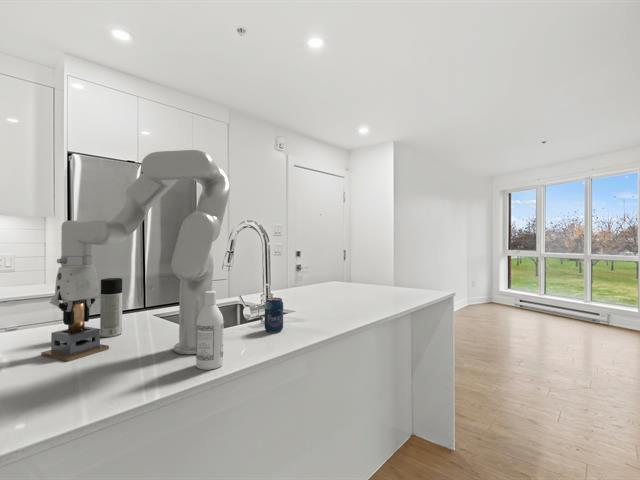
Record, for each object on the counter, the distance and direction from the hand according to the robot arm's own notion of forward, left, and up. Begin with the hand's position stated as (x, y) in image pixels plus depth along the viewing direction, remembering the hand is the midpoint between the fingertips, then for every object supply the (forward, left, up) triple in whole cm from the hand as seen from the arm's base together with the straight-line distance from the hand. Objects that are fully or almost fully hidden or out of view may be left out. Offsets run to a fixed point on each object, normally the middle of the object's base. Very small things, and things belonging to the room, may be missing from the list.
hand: (76, 322), depth 102 cm
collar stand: (0, 0, -9) cm, 9 cm away
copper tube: (0, 0, -3) cm, 3 cm away
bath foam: (-44, -7, -9) cm, 45 cm away
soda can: (-42, -45, -9) cm, 62 cm away
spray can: (+8, -17, -9) cm, 21 cm away
